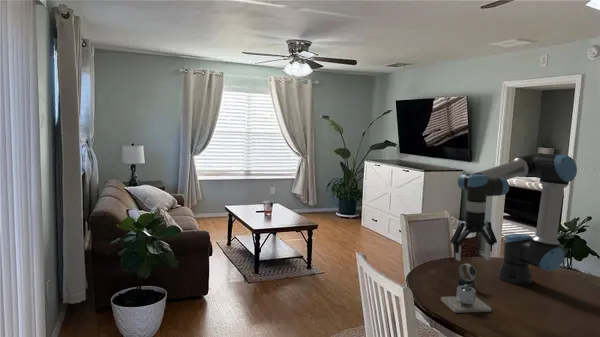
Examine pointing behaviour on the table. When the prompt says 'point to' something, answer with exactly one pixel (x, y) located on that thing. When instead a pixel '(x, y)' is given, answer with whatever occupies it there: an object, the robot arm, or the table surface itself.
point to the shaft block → (463, 307)
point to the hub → (466, 295)
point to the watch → (471, 272)
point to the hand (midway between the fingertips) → (472, 259)
